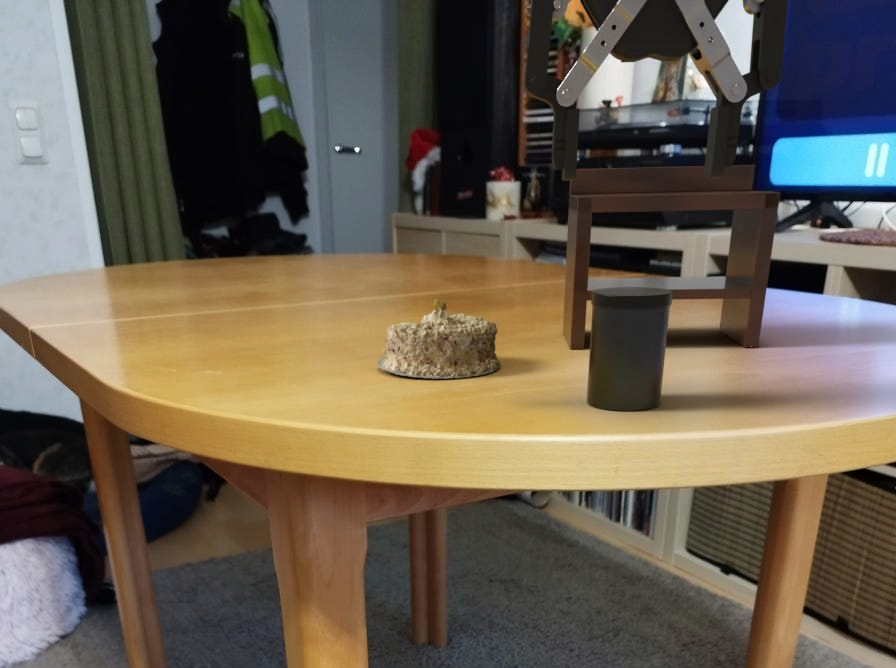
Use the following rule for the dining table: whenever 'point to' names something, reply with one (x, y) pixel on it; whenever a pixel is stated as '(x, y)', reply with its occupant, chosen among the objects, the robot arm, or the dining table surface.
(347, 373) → the dining table surface
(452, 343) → the cake
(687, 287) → the spice rack
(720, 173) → the robot arm
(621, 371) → the spice tin
